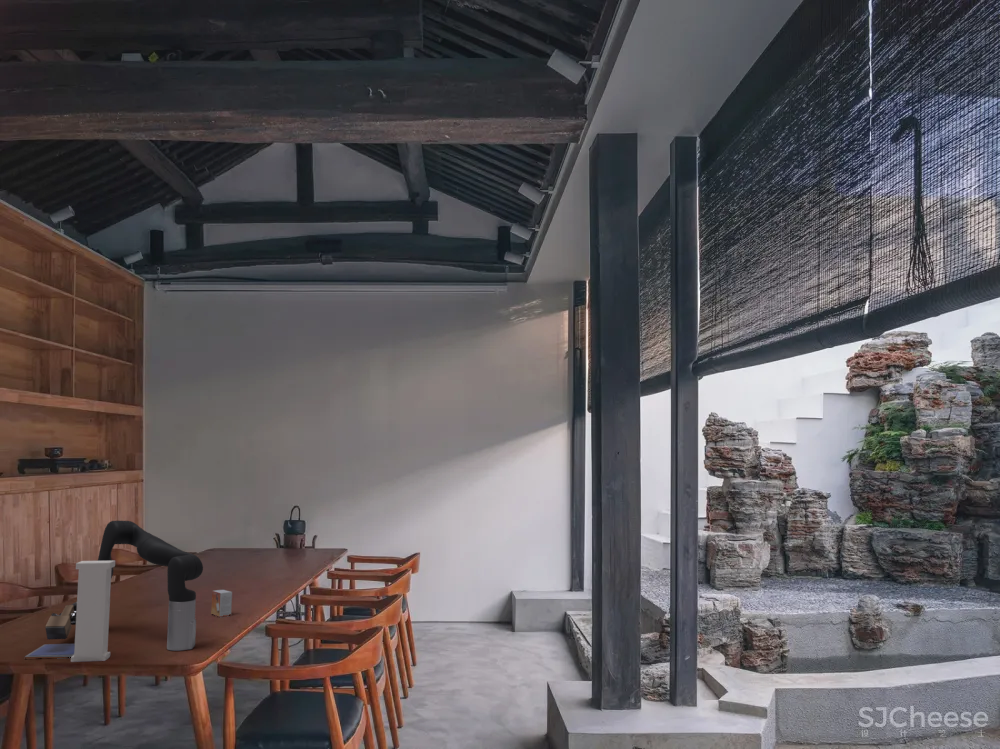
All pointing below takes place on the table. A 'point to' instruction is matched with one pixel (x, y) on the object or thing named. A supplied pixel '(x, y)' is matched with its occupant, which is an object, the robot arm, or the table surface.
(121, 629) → the table surface
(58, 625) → the stamp
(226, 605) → the small box
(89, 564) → the tall post
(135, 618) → the table surface
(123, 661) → the table surface
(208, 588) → the table surface
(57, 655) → the pad
